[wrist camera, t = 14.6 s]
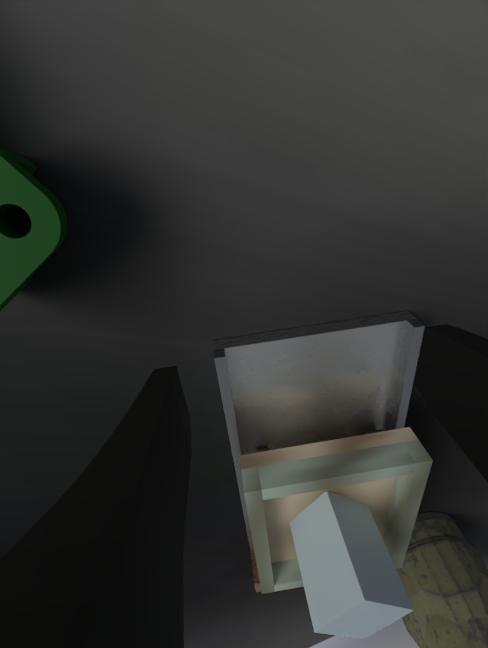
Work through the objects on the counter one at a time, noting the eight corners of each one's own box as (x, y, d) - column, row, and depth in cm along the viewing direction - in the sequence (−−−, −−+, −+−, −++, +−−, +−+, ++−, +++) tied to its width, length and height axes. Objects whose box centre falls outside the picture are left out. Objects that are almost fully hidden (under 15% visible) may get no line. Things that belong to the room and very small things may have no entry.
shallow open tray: (394, 405, 23) (433, 460, 19) (376, 511, 30) (401, 567, 26) (236, 431, 23) (244, 492, 19) (253, 533, 29) (262, 593, 26)
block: (367, 505, 24) (414, 610, 19) (330, 534, 25) (364, 639, 20) (326, 490, 22) (364, 600, 17) (289, 522, 24) (314, 632, 19)
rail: (407, 310, 21) (456, 353, 17) (373, 512, 32) (397, 565, 28) (213, 340, 20) (216, 391, 16) (249, 535, 31) (255, 592, 27)
